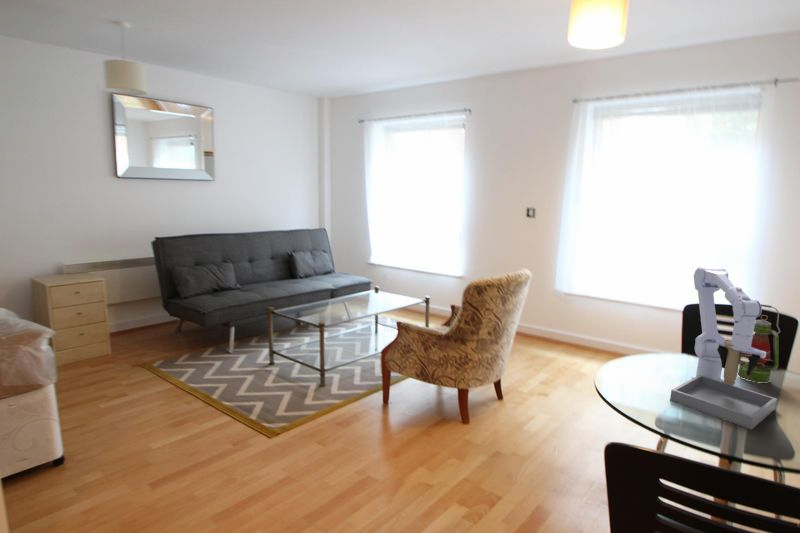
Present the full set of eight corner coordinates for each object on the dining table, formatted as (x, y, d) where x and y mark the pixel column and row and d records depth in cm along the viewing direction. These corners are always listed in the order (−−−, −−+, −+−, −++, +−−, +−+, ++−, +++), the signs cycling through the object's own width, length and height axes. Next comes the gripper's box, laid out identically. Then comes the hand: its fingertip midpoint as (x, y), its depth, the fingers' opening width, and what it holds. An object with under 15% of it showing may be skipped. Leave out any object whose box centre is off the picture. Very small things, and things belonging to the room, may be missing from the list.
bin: (697, 384, 181) (699, 374, 181) (775, 409, 163) (777, 398, 162) (669, 400, 167) (671, 389, 166) (751, 429, 148) (753, 417, 147)
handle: (737, 388, 167) (743, 347, 164) (716, 382, 171) (722, 342, 169) (741, 385, 170) (748, 345, 167) (720, 379, 174) (727, 340, 172)
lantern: (730, 377, 190) (743, 304, 185) (733, 369, 199) (745, 299, 193) (774, 387, 182) (788, 311, 176) (775, 379, 190) (789, 306, 184)
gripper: (714, 330, 169) (708, 366, 172) (764, 342, 158) (756, 380, 160) (722, 327, 174) (716, 362, 176) (770, 338, 162) (763, 376, 165)
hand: (736, 371), depth 168 cm, fingers open, 7 cm apart
